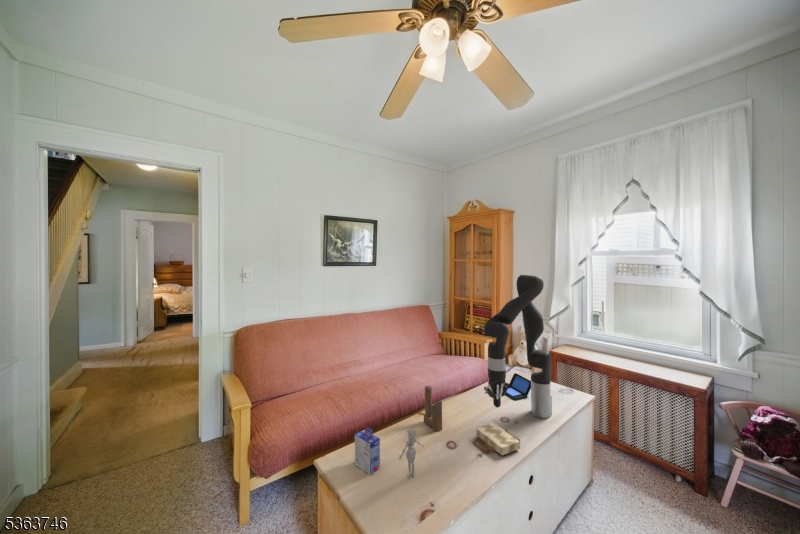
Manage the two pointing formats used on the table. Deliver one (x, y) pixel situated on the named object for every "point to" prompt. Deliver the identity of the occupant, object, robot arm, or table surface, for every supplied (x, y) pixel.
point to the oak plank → (498, 438)
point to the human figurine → (410, 451)
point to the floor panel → (486, 447)
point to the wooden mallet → (432, 411)
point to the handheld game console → (518, 387)
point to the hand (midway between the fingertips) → (497, 406)
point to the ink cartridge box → (367, 451)
